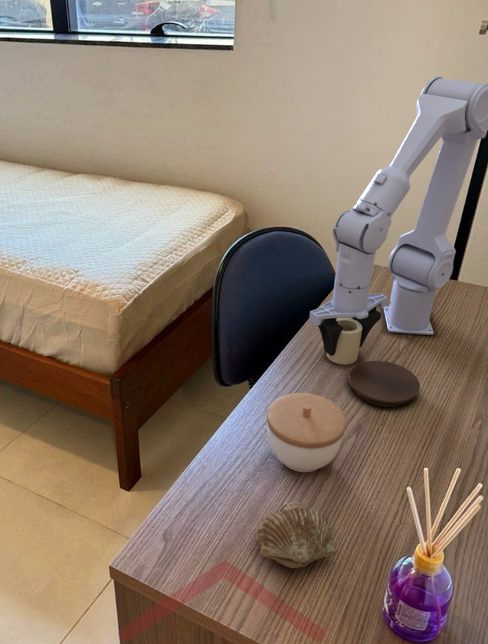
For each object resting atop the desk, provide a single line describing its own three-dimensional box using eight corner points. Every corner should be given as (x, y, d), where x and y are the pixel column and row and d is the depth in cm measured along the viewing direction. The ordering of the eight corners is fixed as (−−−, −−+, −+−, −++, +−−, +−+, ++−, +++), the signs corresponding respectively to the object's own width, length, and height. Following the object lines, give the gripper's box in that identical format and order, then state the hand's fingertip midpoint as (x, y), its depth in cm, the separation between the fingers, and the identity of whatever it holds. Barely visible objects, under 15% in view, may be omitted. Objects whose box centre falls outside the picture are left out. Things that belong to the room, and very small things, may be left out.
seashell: (337, 582, 70) (320, 523, 77) (349, 547, 66) (330, 488, 72) (258, 583, 70) (248, 525, 76) (265, 548, 66) (254, 490, 72)
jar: (326, 346, 110) (330, 316, 107) (356, 349, 109) (361, 318, 106) (327, 363, 106) (331, 332, 103) (358, 365, 105) (363, 334, 102)
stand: (345, 367, 105) (347, 358, 104) (412, 372, 103) (414, 363, 101) (349, 407, 96) (351, 397, 95) (422, 414, 94) (425, 404, 92)
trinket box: (335, 492, 81) (343, 440, 76) (257, 474, 84) (260, 424, 79) (343, 440, 89) (351, 390, 84) (271, 426, 93) (275, 377, 88)
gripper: (330, 301, 94) (322, 371, 101) (404, 281, 99) (390, 349, 106) (305, 282, 100) (298, 350, 107) (375, 265, 104) (364, 330, 111)
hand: (342, 348), depth 107 cm, fingers closed on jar, 5 cm apart
